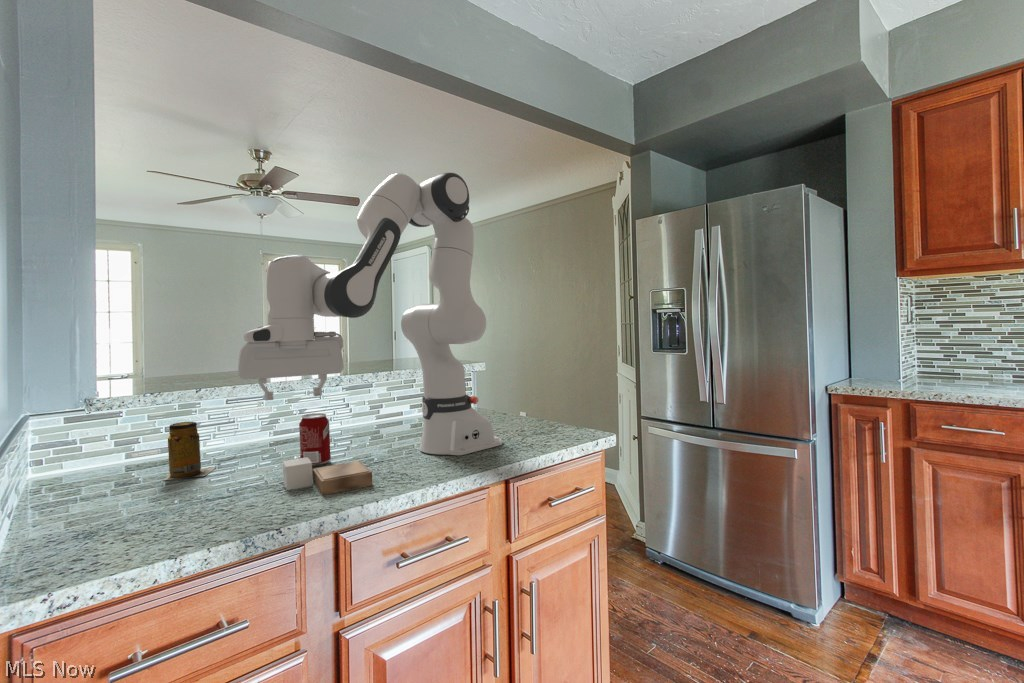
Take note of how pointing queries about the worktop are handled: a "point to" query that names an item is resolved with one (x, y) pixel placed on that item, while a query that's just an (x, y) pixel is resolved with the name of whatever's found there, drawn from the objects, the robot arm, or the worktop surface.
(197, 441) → the condiment
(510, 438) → the worktop surface
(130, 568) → the worktop surface
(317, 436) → the soda can
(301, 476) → the cube
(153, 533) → the worktop surface
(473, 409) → the robot arm
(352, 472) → the plinth
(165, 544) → the worktop surface
